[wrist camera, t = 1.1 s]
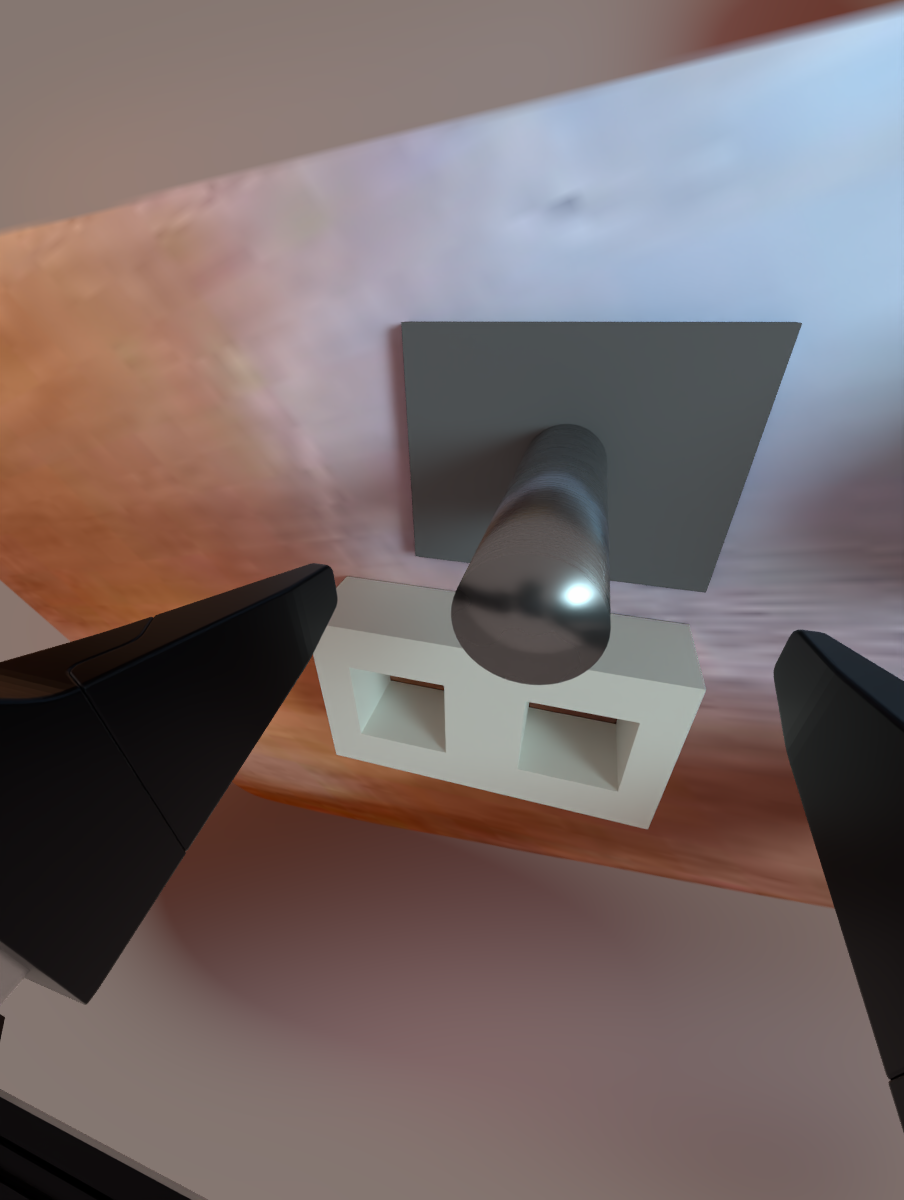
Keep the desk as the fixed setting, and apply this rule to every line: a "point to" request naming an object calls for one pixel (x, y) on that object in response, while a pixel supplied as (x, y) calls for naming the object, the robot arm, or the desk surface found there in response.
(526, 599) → the peg
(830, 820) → the robot arm
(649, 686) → the hole block
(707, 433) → the mat
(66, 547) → the desk surface
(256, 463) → the desk surface
